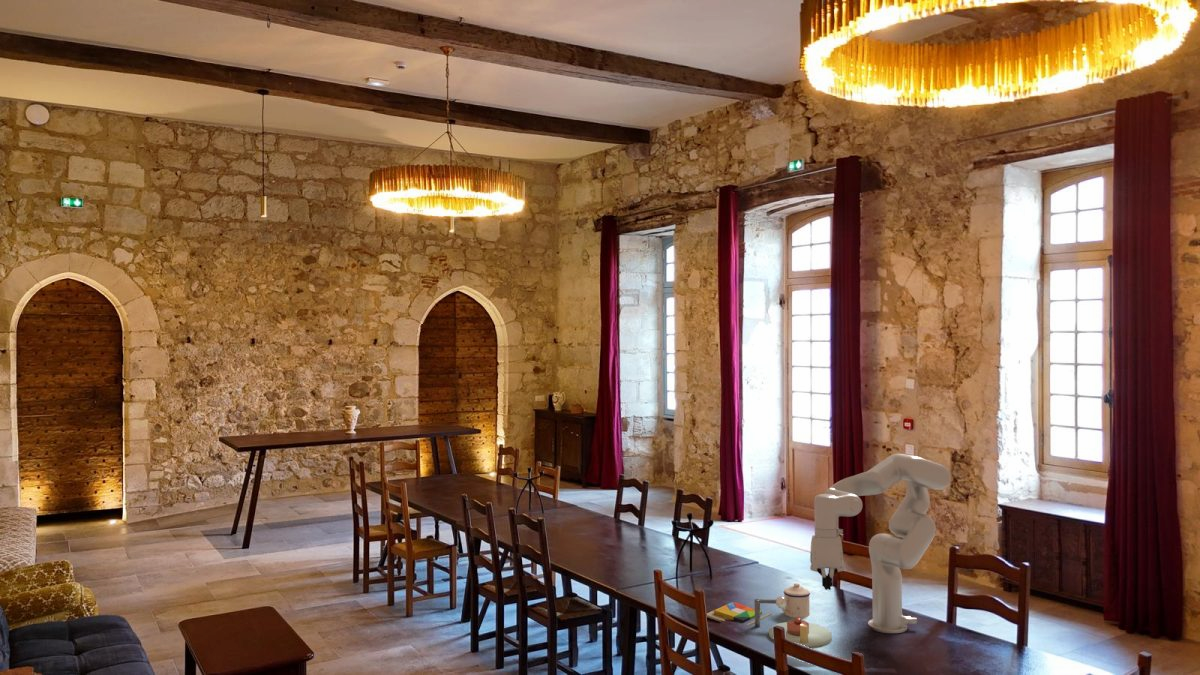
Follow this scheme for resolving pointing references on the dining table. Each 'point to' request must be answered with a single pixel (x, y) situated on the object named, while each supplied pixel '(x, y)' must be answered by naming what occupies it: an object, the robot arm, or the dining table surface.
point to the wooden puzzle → (734, 613)
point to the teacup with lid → (796, 601)
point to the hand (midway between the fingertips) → (827, 588)
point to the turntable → (808, 635)
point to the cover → (796, 626)
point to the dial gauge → (779, 602)
